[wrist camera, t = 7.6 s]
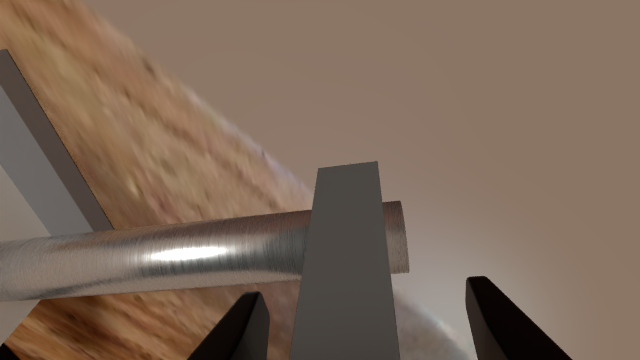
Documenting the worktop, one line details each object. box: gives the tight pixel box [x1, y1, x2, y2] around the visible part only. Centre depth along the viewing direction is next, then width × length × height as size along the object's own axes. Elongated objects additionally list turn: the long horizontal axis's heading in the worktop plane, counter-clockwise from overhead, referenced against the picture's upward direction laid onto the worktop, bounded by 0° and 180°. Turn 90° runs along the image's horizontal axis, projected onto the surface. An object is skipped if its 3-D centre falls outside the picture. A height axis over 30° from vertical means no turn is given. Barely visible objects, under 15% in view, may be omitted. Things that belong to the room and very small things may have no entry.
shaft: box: [0, 161, 409, 360], centre depth 10 cm, size 19×5×7 cm, turn 100°
